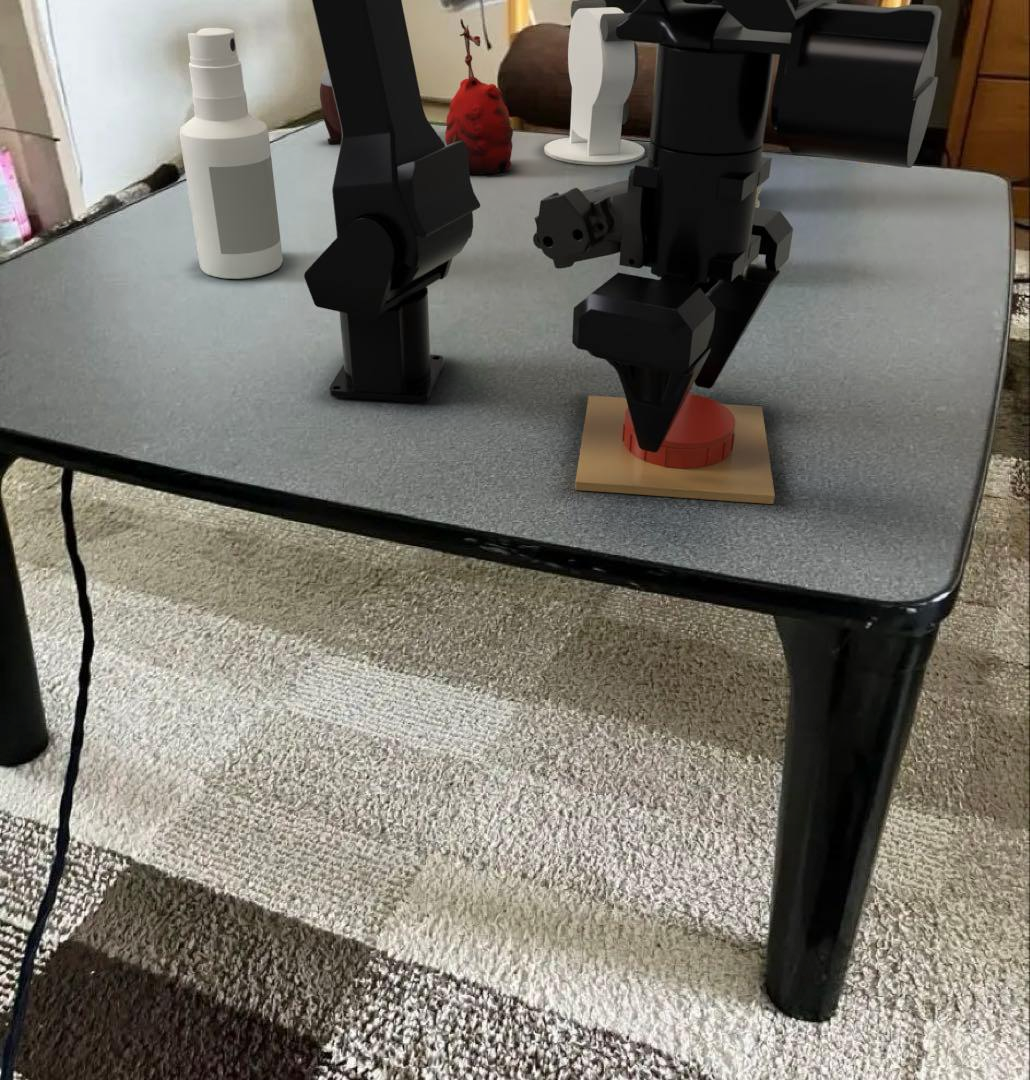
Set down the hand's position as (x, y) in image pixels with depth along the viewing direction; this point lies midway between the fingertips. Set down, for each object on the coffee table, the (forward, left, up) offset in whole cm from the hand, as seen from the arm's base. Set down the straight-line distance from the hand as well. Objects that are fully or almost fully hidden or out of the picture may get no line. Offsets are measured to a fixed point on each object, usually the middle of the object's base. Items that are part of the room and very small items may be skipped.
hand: (677, 416), depth 64 cm
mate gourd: (+69, +37, -2) cm, 78 cm away
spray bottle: (+27, +36, -2) cm, 45 cm away
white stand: (+69, +9, -2) cm, 70 cm away
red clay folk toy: (+60, +21, -2) cm, 64 cm away
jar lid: (0, 0, 0) cm, 0 cm away
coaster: (0, 0, -2) cm, 2 cm away
